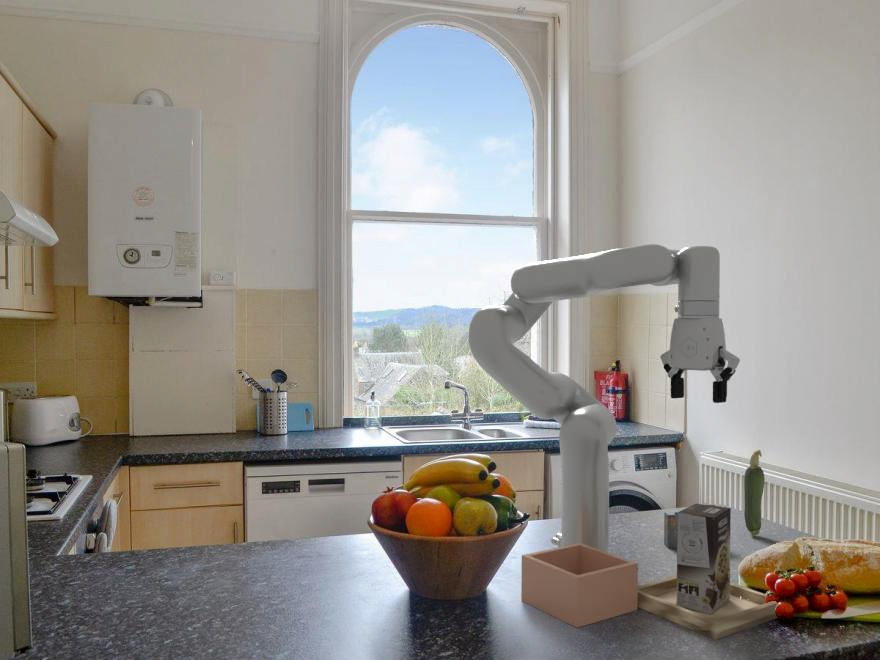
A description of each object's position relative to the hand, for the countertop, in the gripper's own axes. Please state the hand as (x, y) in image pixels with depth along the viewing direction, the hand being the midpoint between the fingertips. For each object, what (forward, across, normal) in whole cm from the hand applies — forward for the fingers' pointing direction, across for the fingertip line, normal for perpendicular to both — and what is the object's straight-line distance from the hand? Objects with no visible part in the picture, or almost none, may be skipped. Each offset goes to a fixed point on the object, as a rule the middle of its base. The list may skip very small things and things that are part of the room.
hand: (697, 400), depth 143 cm
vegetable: (+34, -12, +36) cm, 51 cm away
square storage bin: (+34, -2, -29) cm, 45 cm away
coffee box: (+34, +11, -12) cm, 37 cm away
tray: (+34, +11, -12) cm, 38 cm away
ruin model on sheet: (+35, -14, +16) cm, 41 cm away
